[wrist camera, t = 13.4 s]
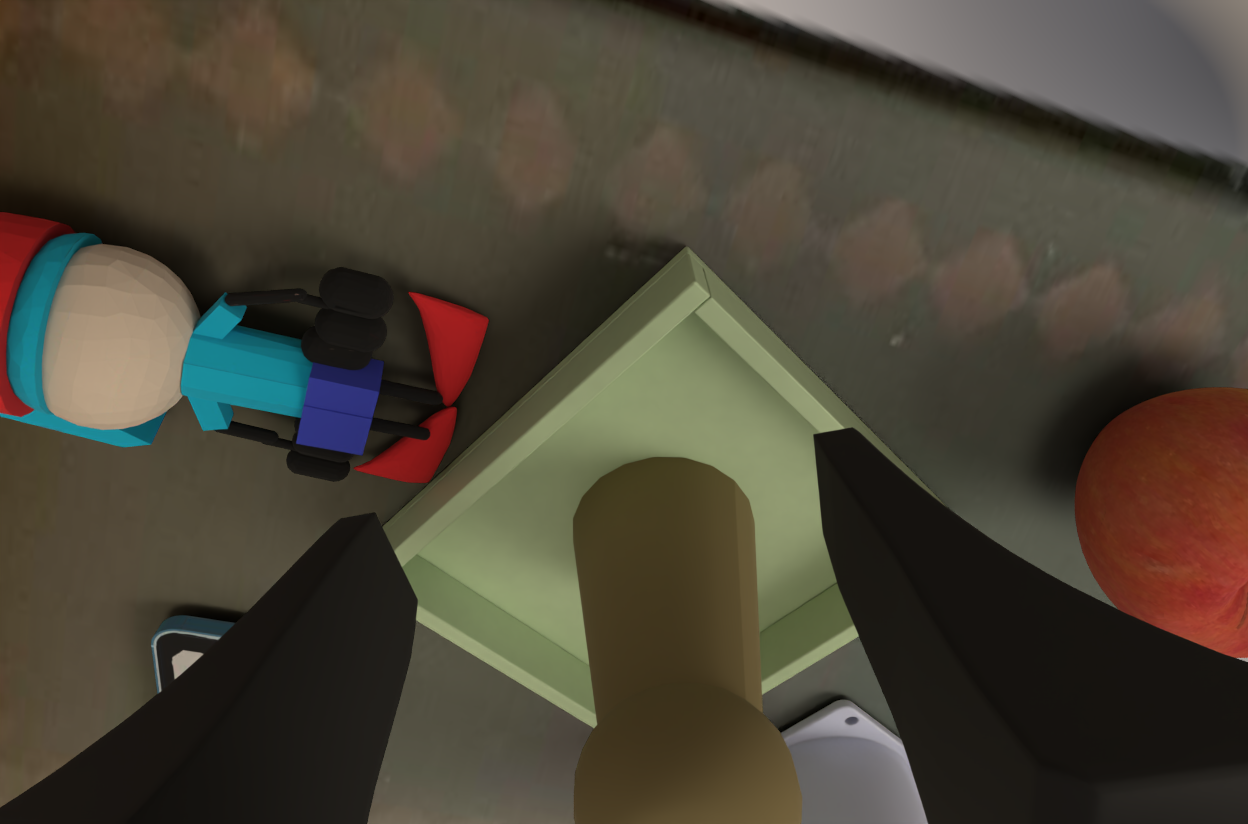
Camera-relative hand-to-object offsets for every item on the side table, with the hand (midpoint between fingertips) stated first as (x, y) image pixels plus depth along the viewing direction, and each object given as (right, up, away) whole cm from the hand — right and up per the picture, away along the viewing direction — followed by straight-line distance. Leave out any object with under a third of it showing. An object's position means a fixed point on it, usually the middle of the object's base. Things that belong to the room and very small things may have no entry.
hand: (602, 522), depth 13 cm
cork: (+2, -2, +13) cm, 13 cm away
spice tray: (+2, -2, +13) cm, 14 cm away
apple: (+17, +1, +12) cm, 21 cm away
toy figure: (-11, +4, +10) cm, 16 cm away
